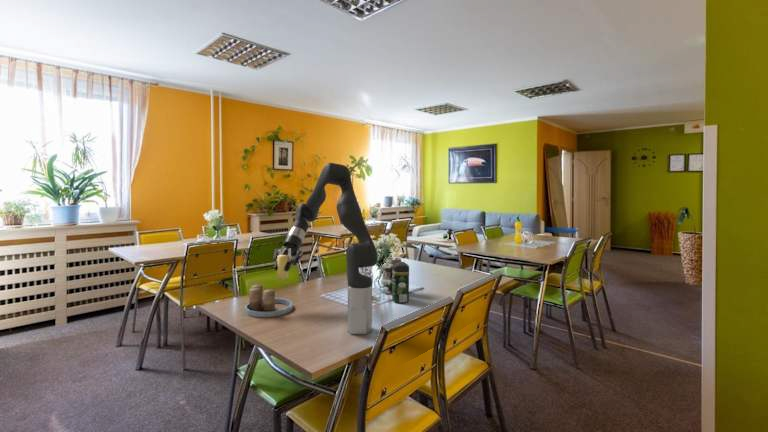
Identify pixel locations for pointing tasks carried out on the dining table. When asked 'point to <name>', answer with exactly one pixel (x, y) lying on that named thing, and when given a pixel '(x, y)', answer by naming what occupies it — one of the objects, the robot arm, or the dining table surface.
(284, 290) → the dining table surface
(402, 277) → the coffee jar
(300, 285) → the dining table surface
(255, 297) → the brown cylinder
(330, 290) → the dining table surface
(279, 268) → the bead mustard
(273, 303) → the brown cylinder
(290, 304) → the tray
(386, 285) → the apothecary jar
